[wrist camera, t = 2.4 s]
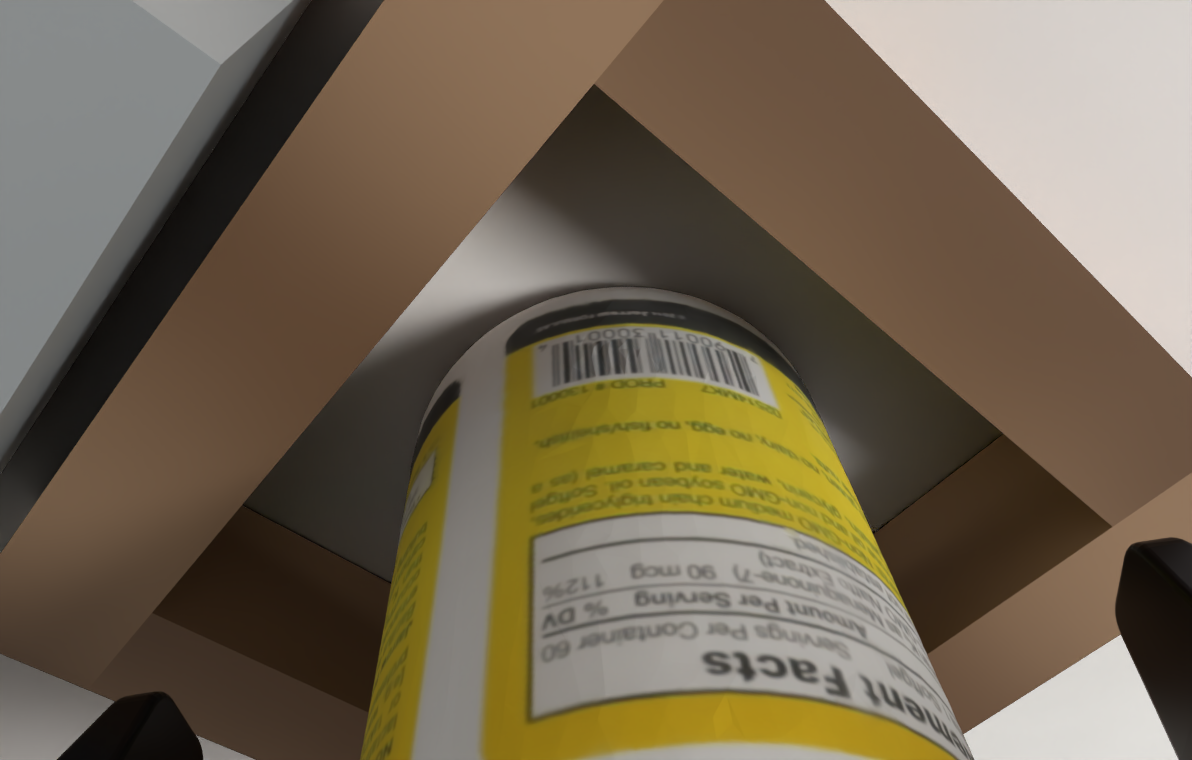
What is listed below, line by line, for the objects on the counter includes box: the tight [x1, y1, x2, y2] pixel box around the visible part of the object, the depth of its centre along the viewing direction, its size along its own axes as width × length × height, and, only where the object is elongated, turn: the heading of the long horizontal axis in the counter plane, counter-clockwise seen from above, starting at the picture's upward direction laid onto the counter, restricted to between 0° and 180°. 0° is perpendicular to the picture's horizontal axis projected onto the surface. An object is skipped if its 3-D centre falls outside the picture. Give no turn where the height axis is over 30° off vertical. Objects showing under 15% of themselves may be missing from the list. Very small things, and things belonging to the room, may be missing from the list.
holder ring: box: [0, 0, 1192, 760], centre depth 10 cm, size 10×10×2 cm
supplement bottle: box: [360, 287, 974, 760], centre depth 8 cm, size 5×5×8 cm
